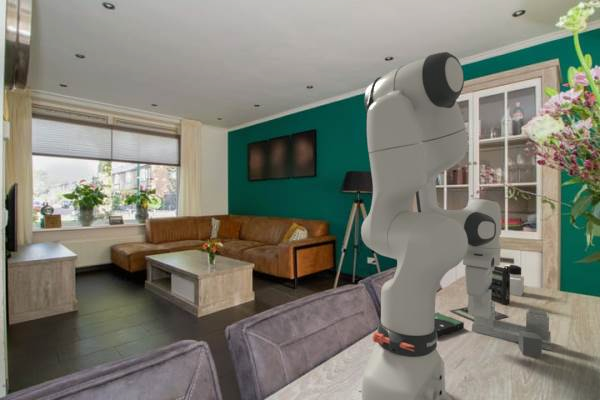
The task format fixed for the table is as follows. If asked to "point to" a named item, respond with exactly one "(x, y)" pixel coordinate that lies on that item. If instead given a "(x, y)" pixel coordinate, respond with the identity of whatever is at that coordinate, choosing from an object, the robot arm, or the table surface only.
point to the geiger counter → (500, 285)
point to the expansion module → (486, 305)
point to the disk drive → (446, 325)
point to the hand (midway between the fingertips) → (479, 305)
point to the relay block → (530, 344)
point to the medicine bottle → (516, 280)
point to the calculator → (464, 313)
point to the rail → (515, 326)
